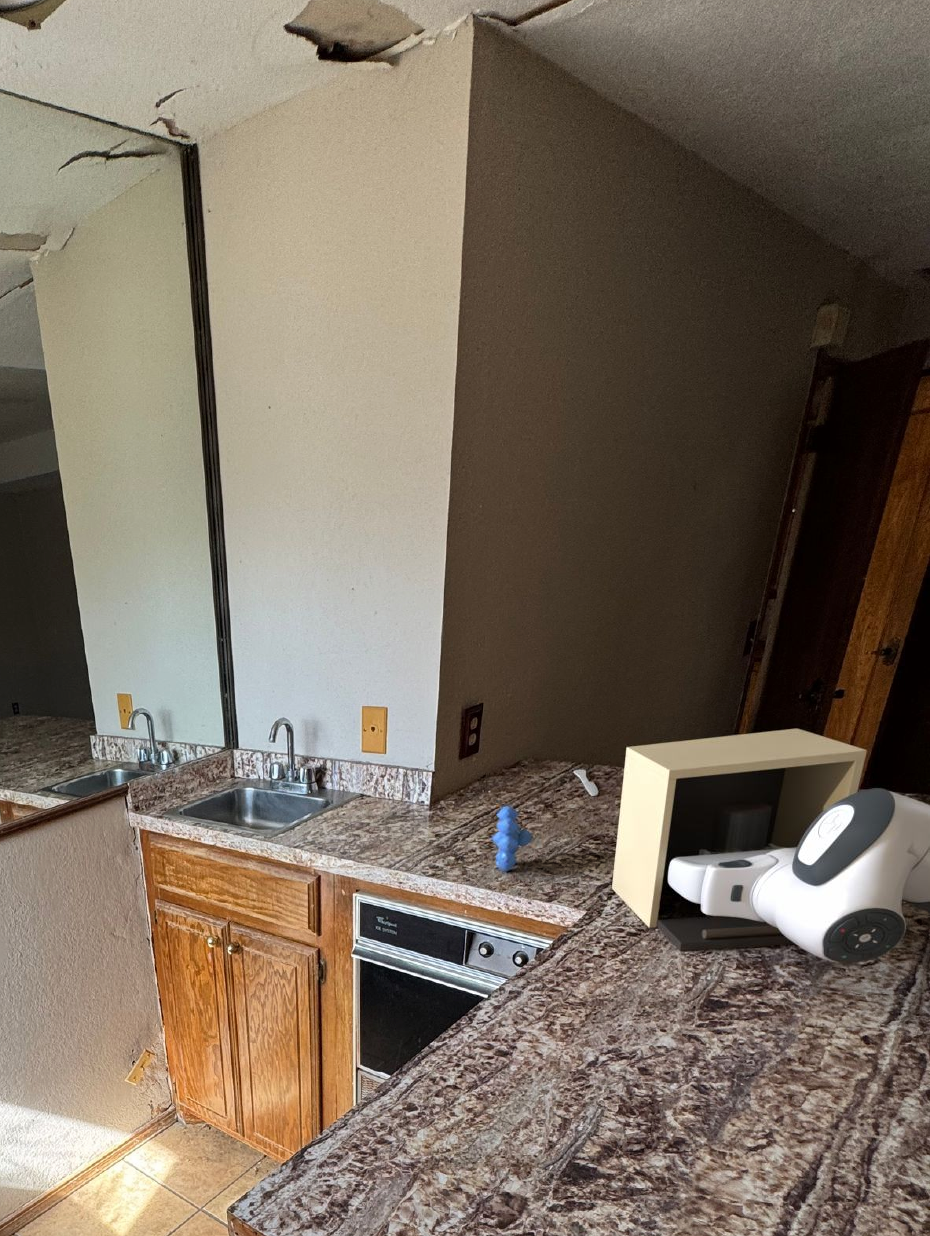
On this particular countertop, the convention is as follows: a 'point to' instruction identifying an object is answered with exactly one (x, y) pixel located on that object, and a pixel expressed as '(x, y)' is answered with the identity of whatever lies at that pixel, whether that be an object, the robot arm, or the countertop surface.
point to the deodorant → (741, 827)
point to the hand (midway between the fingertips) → (733, 852)
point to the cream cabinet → (687, 808)
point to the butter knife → (587, 782)
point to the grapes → (509, 838)
